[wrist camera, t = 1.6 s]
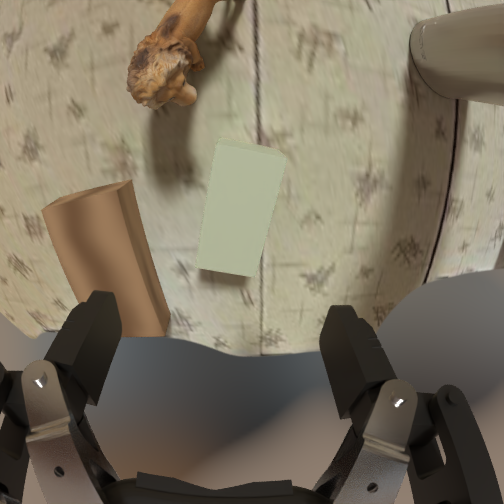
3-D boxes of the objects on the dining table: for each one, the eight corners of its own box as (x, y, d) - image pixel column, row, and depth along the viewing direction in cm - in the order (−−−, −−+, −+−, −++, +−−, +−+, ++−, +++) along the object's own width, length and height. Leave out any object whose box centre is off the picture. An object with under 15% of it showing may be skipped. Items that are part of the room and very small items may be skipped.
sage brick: (277, 149, 23) (287, 158, 18) (251, 248, 27) (255, 277, 23) (220, 137, 22) (216, 143, 18) (201, 240, 27) (195, 267, 22)
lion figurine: (203, 115, 21) (183, 118, 13) (145, 103, 20) (97, 103, 12) (257, -23, 14) (267, -74, 6) (199, -32, 13) (184, -83, 5)
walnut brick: (133, 178, 23) (116, 190, 20) (171, 312, 31) (165, 336, 28) (61, 196, 23) (41, 210, 20) (107, 315, 31) (97, 336, 28)
